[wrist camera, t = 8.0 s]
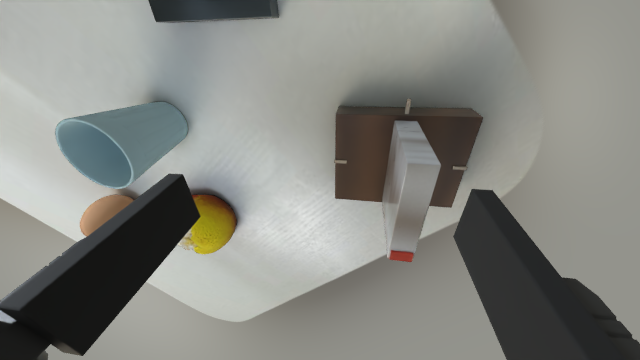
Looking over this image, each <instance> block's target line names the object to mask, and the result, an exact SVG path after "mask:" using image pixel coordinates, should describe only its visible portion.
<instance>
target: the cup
mask: <svg viewBox="0 0 640 360" xmlns="http://www.w3.org/2000/svg"><path fill="white" fill-rule="evenodd" d="M187 132H188V126H187V122H186V120H185V118H184V117H183V115H182V114H181V112H180V111H179V110H178V109H176V108H175V107H174V106H172V105H170V104H168V103H166V102H153V103H148V104H142V105H137V106H132V107H127V108H121V109H116V110H111V111H106V112H100V113H95V114H89V115H84V116H79V117H74V118H68V119H65V120H62V121H61V122H59V124H58V125H57V127H56V131H55V135H56V140H57V143H58V146H59V148H60V150H61V151H62V153H63V154H64V156H65V157H66V158H67V160H68V161H69V162H70V163H71V164H72V165H73V166H74V167H75V168H76V169H77V170H78V171H79V172H80V173H82V174H83V175H84V176H86V177H87V178H89V179H90V180H92V181H94V182H96V183H98V184H100V185H102V186H105V187H109V188H115V189H120V188H125V187H127V186H129V185H130V184H131V183H133V182H134V181H135V180H136V179H137V178H138V177H140V176H141V175H142V174H143V173H144V172H145V171H146V170H148V169H149V168H150V167H151V166H152V165H153V164H155V163H156V162H157V161H158V160H159V159H161V158H162V157H163V156H164V155H165V154H167V153H168V152H169V151H170V150H171V149H173V148H174V147H175V146H176V145H177V144H178V143H180V142H181V141H182V140H183V139H184V138H185V137H186V135H187Z"/></svg>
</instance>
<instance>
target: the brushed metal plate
mask: <svg viewBox="0 0 640 360" xmlns="http://www.w3.org/2000/svg"><path fill="white" fill-rule="evenodd" d="M440 167H441V164H440V162H439V160H438V159H437V157H436V155H435V153H434V151H433V149H432V147H431V146H430V144H429V142H428V140H427V138H426V136H425V135H424V133H423V131H422V129H421V127H420V125H419V124H418V122H417V121H394V127H393V134H392V140H391V146H390V153H389V159H388V165H387V172H386V178H385V185H384V191H383V197H382V203H383V214H384V225H385V236H386V247H387V258H388V259H390V260H399V261H407V262H412V261H413V257H414V254H415V251H416V247H417V244H418V241H419V237H420V234H421V231H422V227H423V224H424V221H425V217H426V214H427V211H428V207H429V204H430V201H431V197H432V194H433V191H434V187H435V184H436V181H437V177H438V174H439V171H440Z"/></svg>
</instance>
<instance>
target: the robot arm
mask: <svg viewBox="0 0 640 360" xmlns="http://www.w3.org/2000/svg"><path fill="white" fill-rule="evenodd" d="M200 217H201V216H200V213H199V211H198V209H197V206H196V204H195V202H194V199H193V197H192V195H191V192H190V190H189V188H188V185H187V183H186V181H185V178H184V176H183V174H168V175H167V176H165V177H164V178H163V179H162V180H160V181H159V182H158V183H156V184H155V185H154V186H152V187H151V188H150V189H149V190H147V191H146V192H145V193H143V194H142V195H141V196H139V197H138V198H137V199H135V200H134V201H133V202H132V203H130V204H129V205H128V206H126V207H125V208H124V209H122V210H121V211H120V212H118V213H117V214H116V215H115V216H113V217H112V218H111V219H109V220H108V221H107V222H105V223H104V224H103V225H102V226H100V227H99V228H98V229H96V230H95V231H94V232H92V233H91V234H90V235H88V236H87V237H86V238H84V239H82V240H80V241H78V242H77V243H75V244H74V245H73V246H72V247H70V248H69V249H68V250H66V251H65V252H64V253H62V256H59V257H57V258H56V259H55V260H53V261H52V262H50V263H49V266H45V267H44V268H43V269H41V270H40V271H39V272H37V273H36V274H35V275H33V276H32V277H31V278H29V279H28V280H27V281H26V282H24V283H23V284H21V285H20V286H19V287H18V288H16V289H15V290H14V291H12V292H11V293H10V294H8V295H7V296H6V297H4V298H3V299H2V300H0V360H48V354H47V353H46V352H45V351H44V350H45V349H46V348H47V347H48V346H49V345H50V344H52V345H53V346H55V347H56V348H58V349H59V350H61V351H62V352H65V353H70V354H75V355H81V356H83V355H84V354H85V353H86V351H87V350H88V349H89V348H90V347H91V345H92V344H93V343H94V342H95V341H96V340H97V339H98V337H99V336H100V335H101V334H102V333H103V332H104V330H105V329H106V328H107V327H108V326H109V324H110V323H111V322H112V321H113V320H114V319H115V317H116V316H117V315H118V314H119V313H120V311H121V310H122V309H123V308H124V307H125V306H126V304H127V303H128V302H129V301H130V300H131V298H132V297H133V296H134V295H135V294H136V293H137V291H138V290H139V289H140V288H141V287H142V285H143V284H144V283H145V282H146V281H147V280H148V278H149V277H150V276H151V275H152V274H153V272H154V271H155V270H156V269H157V268H158V267H159V265H160V264H161V263H162V262H163V261H164V259H165V258H166V257H167V256H168V255H169V254H170V252H171V251H172V250H173V249H174V248H175V246H176V245H177V244H178V243H179V242H180V241H181V239H182V238H183V237H184V236H185V235H186V233H187V232H188V231H189V230H190V229H191V228H192V226H193V225H194V224H195V223H196V222H197V220H198V219H199V218H200ZM454 239H455V241H456V244H457V246H458V248H459V251H460V253H461V255H462V257H463V260H464V262H465V264H466V267H467V269H468V271H469V274H470V276H471V278H472V281H473V283H474V285H475V288H476V290H477V292H478V294H479V296H480V299H481V301H482V303H483V306H484V308H485V310H486V313H487V315H488V317H489V320H490V322H491V324H492V327H493V329H494V331H495V333H496V336H497V338H498V340H499V343H500V345H501V347H502V350H503V352H504V354H505V357H506V359H507V360H640V344H639V342H638V341H637V340H634V339H633V338H632V334H631V333H630V332H629V331H628V330H627V329H626V328H625V326H624V325H623V324H622V323H621V322H620V321H617V320H616V316H615V315H614V314H613V313H612V312H611V310H610V309H609V308H608V307H607V306H606V305H605V304H604V302H603V301H602V300H601V299H600V298H599V297H598V296H597V295H596V294H594V293H593V292H592V291H591V290H589V289H588V288H587V287H585V286H584V285H583V284H582V283H580V282H579V281H578V280H576V279H570V278H562V277H561V276H560V275H559V274H558V273H557V271H556V270H555V269H554V267H553V266H552V265H551V264H550V262H549V261H548V260H547V259H546V257H545V256H544V255H543V253H542V252H541V251H540V250H539V248H538V247H537V246H536V245H535V243H534V242H533V241H532V240H531V238H530V237H529V236H528V235H527V233H526V232H525V231H524V230H523V228H522V227H521V226H520V224H519V223H518V222H517V221H516V219H515V218H514V217H513V216H512V214H511V213H510V212H509V211H508V209H507V208H506V207H505V206H504V204H503V203H502V202H501V200H500V199H499V198H498V197H497V195H496V194H495V193H494V192H493V190H477V189H472V190H471V193H470V195H469V198H468V201H467V203H466V206H465V208H464V211H463V213H462V216H461V218H460V221H459V224H458V226H457V229H456V231H455V234H454Z"/></svg>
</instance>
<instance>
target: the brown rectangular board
mask: <svg viewBox="0 0 640 360" xmlns="http://www.w3.org/2000/svg"><path fill="white" fill-rule="evenodd" d="M410 104H411V99H407V103H406V107H353V106H339V107H338V110H337V113H336V154H335V160H334V163H335V198H336V199H349V200H361V201H374V202H382V197H383V191H384V185H385V178H386V172H387V165H388V159H389V153H390V146H391V140H392V134H393V127H394V121H417V122H418V124H419V125H420V127H421V129H422V131H423V133H424V135H425V136H426V138H427V140H428V142H429V144H430V146H431V147H432V149H433V151H434V153H435V155H436V157H437V159H438V160H439V162H440V164H441V167H440V171H439V174H438V177H437V181H436V184H435V187H434V191H433V194H432V197H431V201H430V204H429V206H438V207H452V204H453V201H454V198H455V196H456V193H457V190H458V187H459V184H460V182H461V179H462V176H463V173H464V170H467V168H468V167H466V165H467V162H468V159H469V156H470V153H471V151H472V148H473V145H474V142H475V139H476V136H477V134H478V131H479V128H480V125H481V122H482V120H483V117H482V116H481V115H479V114H478V113H477V112H476V111H474V110H473V109H471V108H414V107H410Z"/></svg>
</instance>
